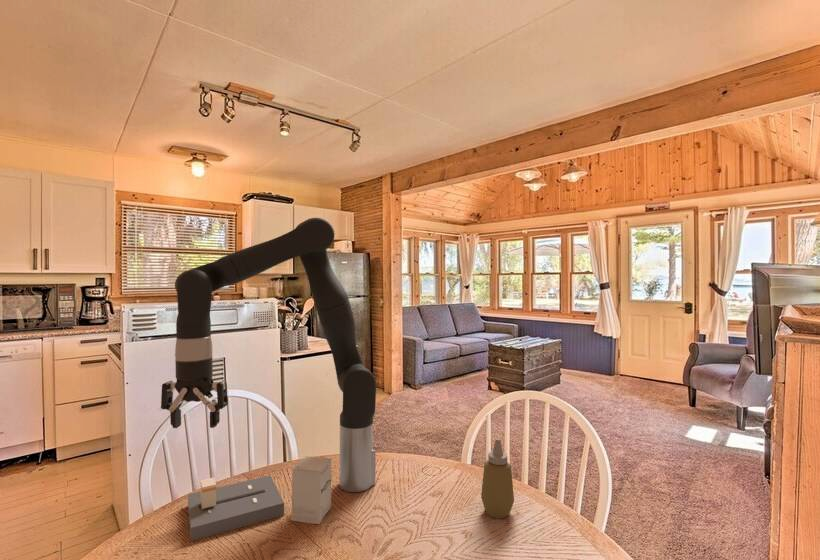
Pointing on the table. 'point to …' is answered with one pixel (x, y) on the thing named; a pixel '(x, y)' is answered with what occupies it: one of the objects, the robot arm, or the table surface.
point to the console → (235, 507)
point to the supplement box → (311, 489)
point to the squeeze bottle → (497, 483)
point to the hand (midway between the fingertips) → (195, 426)
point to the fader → (208, 493)
